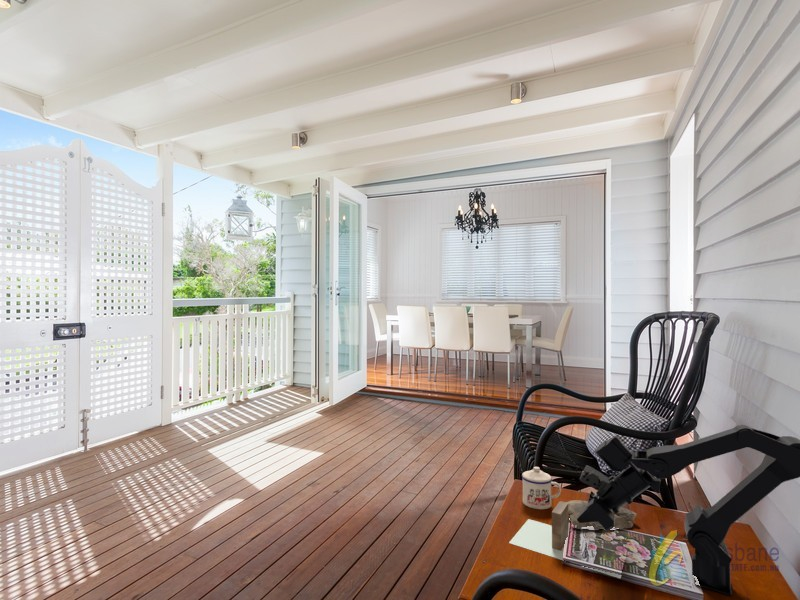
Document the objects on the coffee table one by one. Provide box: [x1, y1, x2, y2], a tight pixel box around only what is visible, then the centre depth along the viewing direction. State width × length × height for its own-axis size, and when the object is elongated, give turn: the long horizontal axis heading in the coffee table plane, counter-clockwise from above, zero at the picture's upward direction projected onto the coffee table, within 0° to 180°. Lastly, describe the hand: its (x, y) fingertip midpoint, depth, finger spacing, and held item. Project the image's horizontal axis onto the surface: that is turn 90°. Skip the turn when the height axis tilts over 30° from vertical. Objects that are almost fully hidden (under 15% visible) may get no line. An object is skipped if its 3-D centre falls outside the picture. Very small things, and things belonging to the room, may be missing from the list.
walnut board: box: [551, 500, 570, 551], centre depth 110 cm, size 2×8×9 cm, turn 145°
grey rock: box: [566, 499, 638, 530], centre depth 123 cm, size 14×5×20 cm
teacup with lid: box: [521, 466, 562, 510], centre depth 134 cm, size 12×9×12 cm
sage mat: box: [508, 518, 622, 579], centre depth 109 cm, size 26×16×1 cm, turn 55°
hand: (578, 520), depth 108 cm, fingers closed
